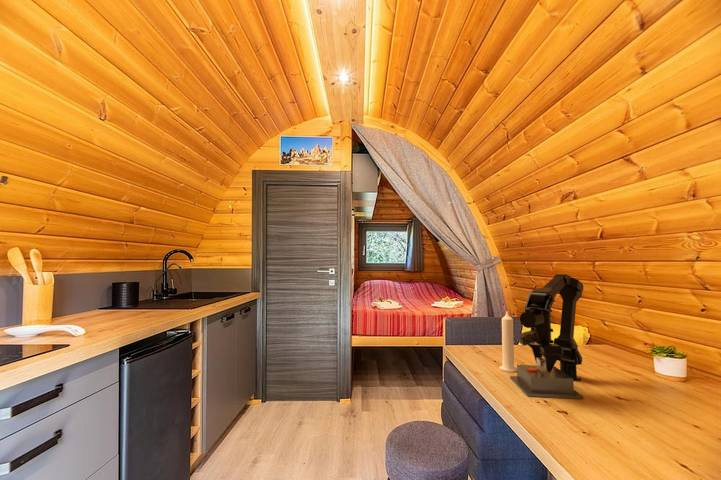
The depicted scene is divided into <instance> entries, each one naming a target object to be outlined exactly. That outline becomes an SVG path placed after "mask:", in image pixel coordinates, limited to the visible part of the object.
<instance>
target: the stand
mask: <svg viewBox="0 0 721 480" xmlns="http://www.w3.org/2000/svg"><path fill="white" fill-rule="evenodd" d="M516 368H517V372H516V375H510V376H509V379H510V380H511V381H512V382H513V383H514V384H515V385H516V387H518V388H519V389H520V390H521V392H522V393H523V394H524V395H525V396H526V397H528V398H530V397H531V398H549V399H550V398H551V399H568V400H569V399H571V400H573V399H574V400H584V395H582V394H581V393H580V392H578V391H577V390H575V388H574V385H575V384H574V380H573V378H571V377H570V376H568V375H567V374H565V373H564V372H562V371H561V370H560V368H558V367H556V366H555V365H554V367H553V369H552V370H551V372H550V373H539V372H538V370H537V365H534V364H533V365H531V364H529V365H528V364H517V365H516Z"/></svg>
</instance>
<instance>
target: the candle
mask: <svg viewBox="0 0 721 480" xmlns="http://www.w3.org/2000/svg"><path fill="white" fill-rule="evenodd" d="M501 343H502V344H501V345H502V347H501V348H502V349H501V350H502V353H501V354H502V356H501V357H502V365H500V366H499V370H501V371H503V372H506V373H517V366H516V367H515V350H514V349H515V348H514V347H515V346H514V343H515V341H514V319H513V318H512V317H511V316H510V314H509V311H508V310H507V311H506V313H505V315H504V316H503V317H502V318H501Z"/></svg>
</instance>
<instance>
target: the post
mask: <svg viewBox="0 0 721 480" xmlns="http://www.w3.org/2000/svg"><path fill="white" fill-rule="evenodd" d="M536 366H537V370H538V372H539V373H550V372H547V369H546V363H545V357H542V358H537V364H536Z"/></svg>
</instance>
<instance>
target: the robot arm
mask: <svg viewBox="0 0 721 480" xmlns="http://www.w3.org/2000/svg"><path fill="white" fill-rule="evenodd" d="M583 291H584V284H583V283H582V282H581V281H580V280H579V279H577V278H574V277H572V276H570V275H569V274H563V273H562V274H561V273H560V274H559V273H556V274H554V275H553V277H552V278H551V279H550V280H549V281H547V283H546V284H545V285H544V286H542V287H540V288H535V289H533V290H532V291H531V292H530V293H529V295H528V298H527V301H526V304H525V307H524V311H523V312H522V313H521V314H520V316H519V322H520V323H521V325H522V326H523V327H524V328H525V329H526V328H527V329H530V330H528V331H527V330H526V331H524V332H521V333H518V334H516V337H517V339H518V341H519V344H521V345H522V346H528V347H529V348H531V351H532V355H533V357H534V360H535V363H536V365H537V358H545V363H546V369H547V372H551V370H552V369H553V367H554V366H555V364H556V363H557V361H559V370H561V371H562V372H564V373H565V374H567V375H568V376H570V377H571V378H573V381H576V380H577V381H578V380H579V381H581V379H582V378H580V377H579V376H578V375H577V374H578V372H577V371H578V370H577V366H578V365H581V366H582V363H583V356H582V354H581V353H580V351H579V349H578V348H579V345H578V343H577V342H576V340H575V338H574V337H575V336H574V335H575V323H576V322H575V321H576V310H577V302H578V301H579V300H580V299H581V297H582V296H583V295H582V294H583ZM558 294H559V296H560V297H561V299H562V305H561V314H560V315H561V316H560V325H559V326H560V327H559V335H558V336H557V337H555V338H554V339H552V333H554V329H553V328H552V327H551V326H552V323H551V321H552V320H551V319H552V318H551V313H552V312H553V310H552V306H553V305H554V303H555V302H556V301H555V296H556V295H558Z"/></svg>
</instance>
